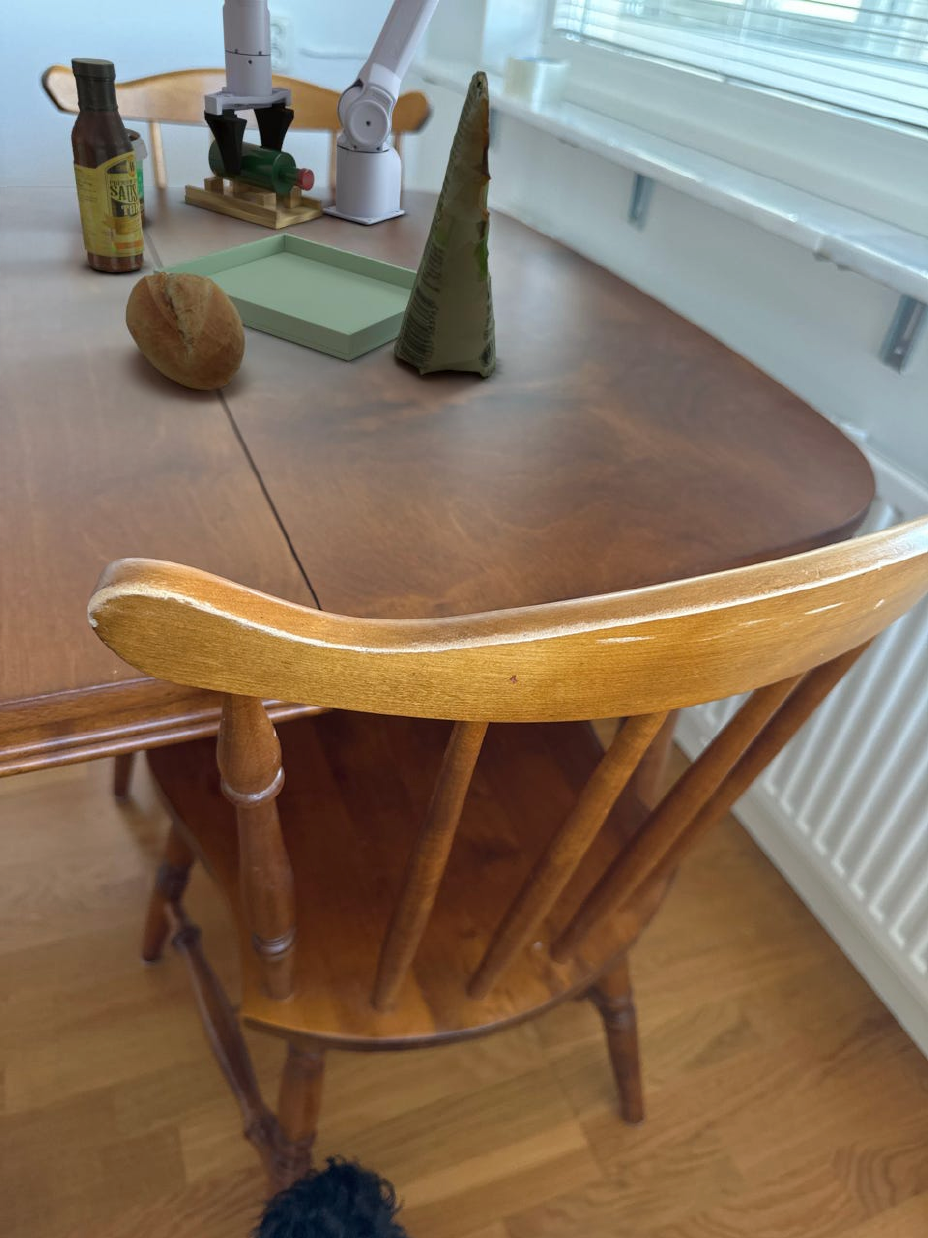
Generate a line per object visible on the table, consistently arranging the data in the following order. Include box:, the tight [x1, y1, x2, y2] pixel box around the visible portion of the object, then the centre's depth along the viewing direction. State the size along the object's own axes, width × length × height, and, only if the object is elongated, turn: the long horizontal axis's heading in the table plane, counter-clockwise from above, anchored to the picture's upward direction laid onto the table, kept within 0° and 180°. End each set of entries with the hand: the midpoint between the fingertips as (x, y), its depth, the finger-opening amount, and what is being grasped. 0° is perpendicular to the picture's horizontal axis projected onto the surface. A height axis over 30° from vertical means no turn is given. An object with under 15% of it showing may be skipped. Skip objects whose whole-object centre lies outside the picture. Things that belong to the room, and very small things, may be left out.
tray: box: [152, 232, 418, 362], centre depth 97 cm, size 21×25×3 cm
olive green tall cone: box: [393, 70, 497, 378], centre depth 81 cm, size 11×12×25 cm
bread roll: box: [125, 271, 246, 391], centre depth 79 cm, size 10×15×8 cm, turn 29°
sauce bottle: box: [70, 57, 145, 273], centre depth 95 cm, size 7×6×20 cm
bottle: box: [207, 139, 316, 195], centre depth 120 cm, size 5×15×5 cm, turn 60°
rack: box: [184, 175, 323, 230], centre depth 123 cm, size 10×16×4 cm, turn 60°
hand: (252, 169), depth 121 cm, fingers open, 7 cm apart
